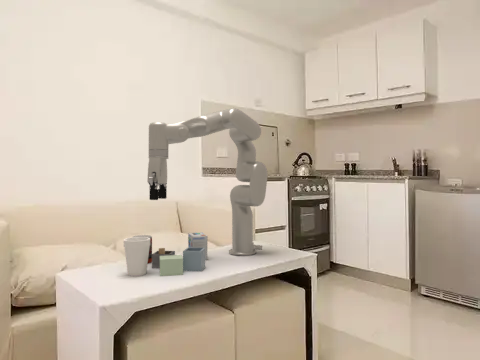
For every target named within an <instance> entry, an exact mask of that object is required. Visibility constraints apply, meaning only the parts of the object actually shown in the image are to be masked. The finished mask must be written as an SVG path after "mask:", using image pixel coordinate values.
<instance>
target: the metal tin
mask: <svg viewBox="0 0 480 360" xmlns="http://www.w3.org/2000/svg"><path fill="white" fill-rule="evenodd" d="M168 255H176V251H175V250H165V254H159V250H156V251H155V252H152V262H151V269H160V256H168Z"/></svg>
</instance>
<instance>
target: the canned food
mask: <svg viewBox="0 0 480 360" xmlns="http://www.w3.org/2000/svg"><path fill="white" fill-rule="evenodd" d="M132 237H148V238H150V248H149V256H148V264H152V254H153V236H152V235H148V234H147V235H146V234H141V235H140V234H139V235H134V236H132Z"/></svg>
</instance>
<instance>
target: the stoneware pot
mask: <svg viewBox="0 0 480 360" xmlns="http://www.w3.org/2000/svg"><path fill="white" fill-rule="evenodd" d="M182 257H183V272H203V270H204V269H205V268H206V260H205V248H190V247H188V246H187V247H186V248H184V250H182Z"/></svg>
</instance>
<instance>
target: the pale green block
mask: <svg viewBox="0 0 480 360" xmlns="http://www.w3.org/2000/svg"><path fill="white" fill-rule="evenodd" d="M183 275H184V271H183V254H175V255H168V256H160V268H159V277H168V276H183Z"/></svg>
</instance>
